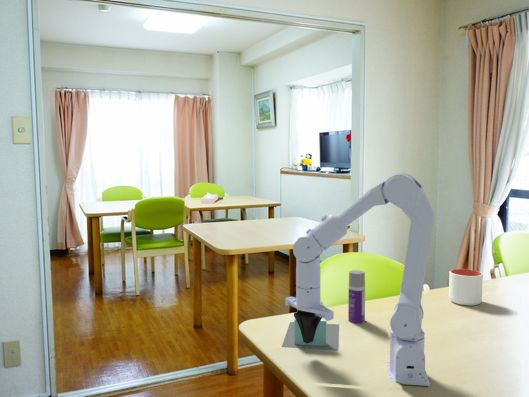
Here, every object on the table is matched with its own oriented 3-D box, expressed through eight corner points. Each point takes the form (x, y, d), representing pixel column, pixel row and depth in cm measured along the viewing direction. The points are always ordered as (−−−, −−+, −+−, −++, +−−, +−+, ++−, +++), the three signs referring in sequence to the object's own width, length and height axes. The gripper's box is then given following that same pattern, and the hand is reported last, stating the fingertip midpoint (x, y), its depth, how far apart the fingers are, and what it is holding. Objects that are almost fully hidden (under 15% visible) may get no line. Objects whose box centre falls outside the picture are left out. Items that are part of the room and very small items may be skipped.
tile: (326, 346, 114) (326, 321, 114) (294, 344, 116) (294, 319, 115) (326, 343, 116) (326, 318, 116) (295, 341, 118) (295, 317, 117)
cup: (442, 300, 153) (442, 270, 153) (463, 296, 158) (464, 267, 157) (466, 308, 144) (467, 277, 144) (488, 304, 149) (489, 274, 148)
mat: (338, 352, 112) (338, 350, 112) (281, 349, 114) (281, 346, 114) (339, 326, 130) (339, 324, 129) (290, 323, 132) (290, 321, 132)
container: (346, 323, 132) (346, 272, 130) (351, 318, 136) (351, 269, 135) (362, 326, 129) (362, 274, 128) (366, 321, 134) (367, 271, 132)
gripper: (342, 289, 104) (342, 346, 105) (300, 277, 116) (300, 329, 117) (320, 295, 100) (320, 355, 101) (278, 281, 111) (279, 335, 112)
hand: (308, 341), depth 109 cm, fingers closed
